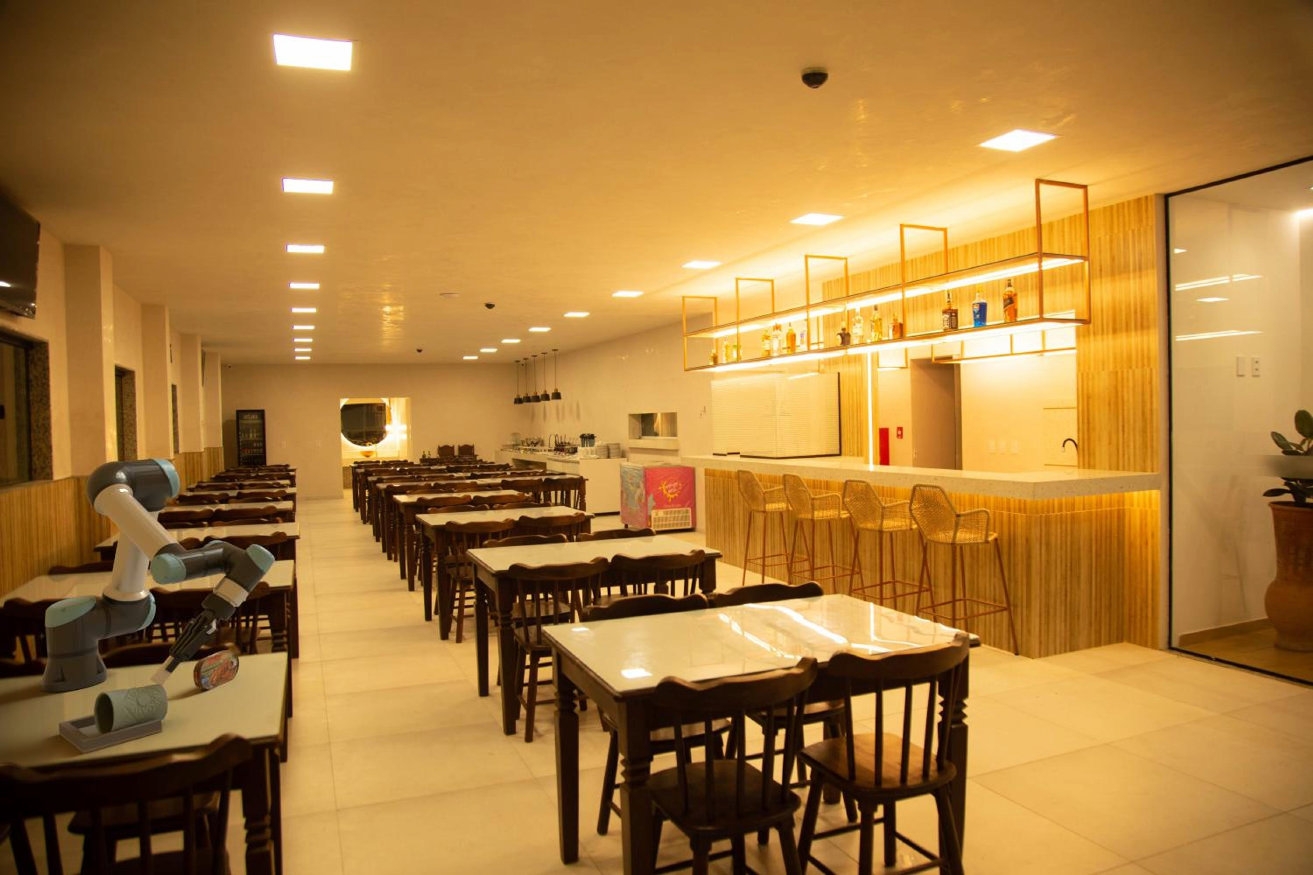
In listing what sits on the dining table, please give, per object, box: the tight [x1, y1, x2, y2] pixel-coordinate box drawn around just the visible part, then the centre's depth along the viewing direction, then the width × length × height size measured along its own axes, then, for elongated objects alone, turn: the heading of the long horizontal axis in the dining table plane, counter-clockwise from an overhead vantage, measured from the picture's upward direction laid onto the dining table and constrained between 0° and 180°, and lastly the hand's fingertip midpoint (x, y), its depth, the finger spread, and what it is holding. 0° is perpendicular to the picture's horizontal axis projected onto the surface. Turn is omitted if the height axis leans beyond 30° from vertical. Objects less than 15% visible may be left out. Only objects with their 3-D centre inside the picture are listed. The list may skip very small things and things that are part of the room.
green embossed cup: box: [93, 683, 169, 735], centre depth 197 cm, size 10×10×12 cm
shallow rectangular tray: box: [58, 713, 163, 754], centre depth 197 cm, size 19×16×3 cm
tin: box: [192, 649, 240, 690], centre depth 231 cm, size 15×3×8 cm, turn 168°
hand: (155, 682), depth 204 cm, fingers closed
